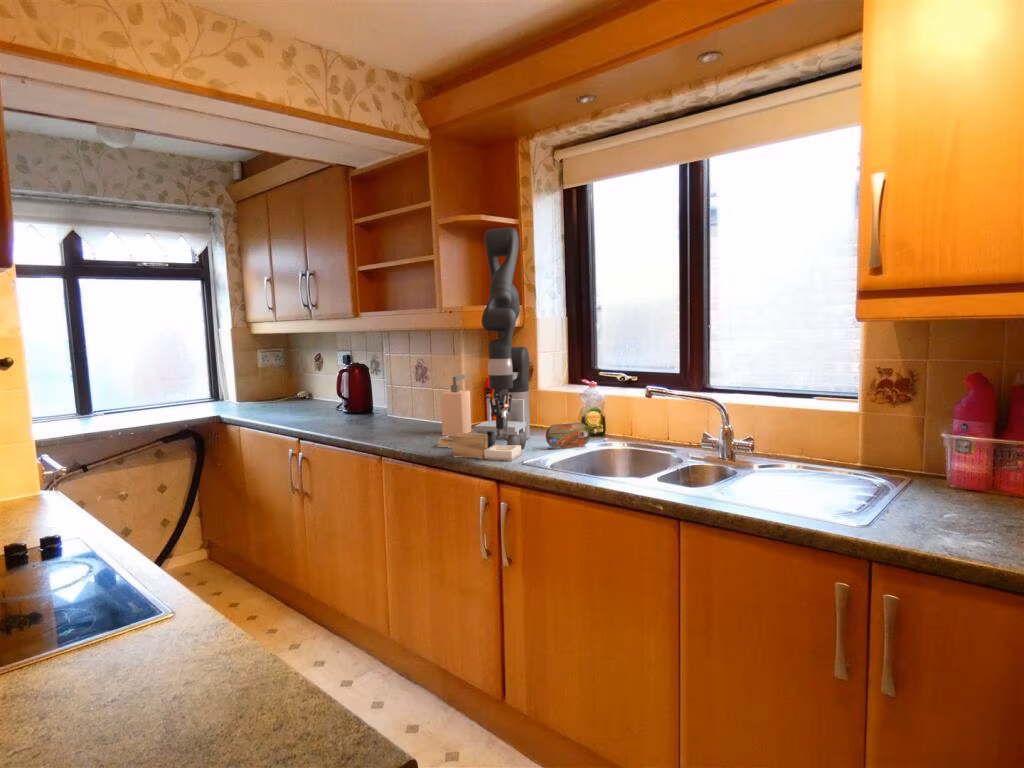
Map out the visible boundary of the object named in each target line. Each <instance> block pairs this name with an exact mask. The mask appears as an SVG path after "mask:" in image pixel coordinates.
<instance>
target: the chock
mask: <svg viewBox="0 0 1024 768" xmlns="http://www.w3.org/2000/svg"><path fill="white" fill-rule="evenodd" d="M487 448H488V445H487V434H477V433H474V432H473V433H472V432H470V433H457V434H455V435H453V448H452V449H453V451H452V452H453V457H454V456H462V457H461V458H467V457H481V458H480V459H484V458H485V456H484V450H486V449H487ZM483 457H484V458H483Z"/></svg>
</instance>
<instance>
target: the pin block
mask: <svg viewBox="0 0 1024 768" xmlns="http://www.w3.org/2000/svg"><path fill="white" fill-rule="evenodd" d="M438 447H448V448H447V449H453V436H451V435H450V436H444V435H443V436H441V437H439V438H438V441H437V448H438Z"/></svg>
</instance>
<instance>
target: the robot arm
mask: <svg viewBox="0 0 1024 768" xmlns="http://www.w3.org/2000/svg"><path fill="white" fill-rule="evenodd" d="M519 243H520V241H519V235H518V231H517V230H516V228H515V227H498V228H490V229H489V228H488V229H486V230H485V232H484V248H485V253H486V255H485V256H486V259H487V264H488V265H487V266H488V271H489V278H490V283H489V294H488V300H487V304H486V306H485V308H484V310H483V312H482V314H481V325H482V328H483V329H484V330H485V331H487V332H490V333H492V332H496V338H494V339H491V340H489V342H488V365H487V366H488V367H487V368H488V371H487V372H488V388H489V389H491V390H493V396H492V398H489V399H490V404H491V415H492V416H493V417H495V421H496V428H497V429H503V428H504V421H503V413H504V410H505V404H509V408H507V426H508V421H521V415H520V403H511V401H512V399H524V422H526V427H525V431H524V432H525V434H526V440H527V439H530V438H531V432H530V431H531V430H530V429H531V428H530V427H531V426H530V422H531V421H530V396H529V395H530V391H529V387H530V386H529V383H530V382H529V378H530V377H529V375H530V374H529V372H530V370H529V367H530V356H529V355H530V354H529V350H528V348H527V347H525V346H512V343H513V342H512V341H513V334H514V331H515V326H516V323H517V320H518V318H519V315H520V312H521V307H520V297H519V296H520V295H519V291H518V289H517V288H516V286H515V285H514V284H513V279H514V273H515V269H516V264H517V259H518V255H519V245H520V244H519ZM500 257H505V259H504V260H503V262H502V263H501V265H500V262H499V259H498V258H500ZM513 373H518V376H517V377H515V378H514V377H513V376H514V374H513ZM500 405H502V407H500ZM508 436H509V435H508V432H507V436H506V437H504V439H505V440H508Z"/></svg>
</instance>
